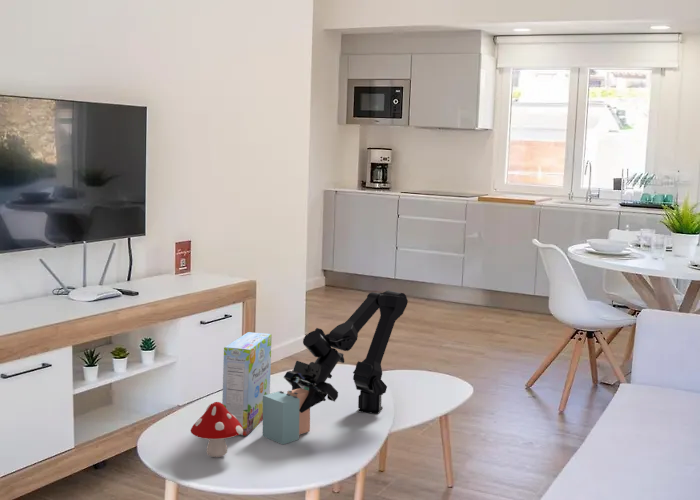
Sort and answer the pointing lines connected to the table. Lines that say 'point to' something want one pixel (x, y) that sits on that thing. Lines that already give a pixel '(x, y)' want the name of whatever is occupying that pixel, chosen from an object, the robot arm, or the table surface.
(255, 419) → the snack box
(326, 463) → the table surface
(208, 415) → the decorative mushroom
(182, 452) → the table surface
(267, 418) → the teal block
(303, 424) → the stub
